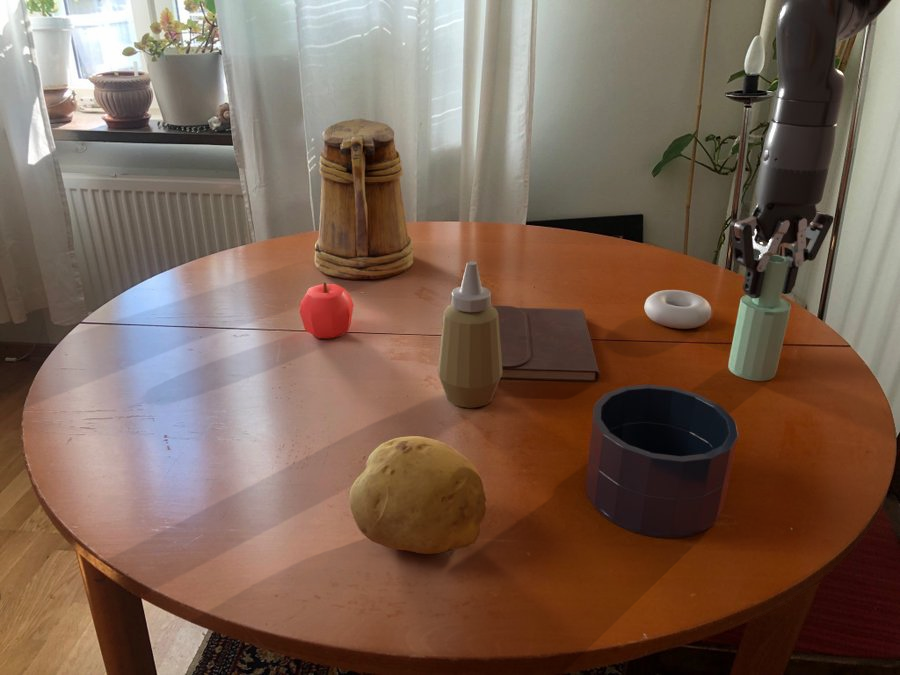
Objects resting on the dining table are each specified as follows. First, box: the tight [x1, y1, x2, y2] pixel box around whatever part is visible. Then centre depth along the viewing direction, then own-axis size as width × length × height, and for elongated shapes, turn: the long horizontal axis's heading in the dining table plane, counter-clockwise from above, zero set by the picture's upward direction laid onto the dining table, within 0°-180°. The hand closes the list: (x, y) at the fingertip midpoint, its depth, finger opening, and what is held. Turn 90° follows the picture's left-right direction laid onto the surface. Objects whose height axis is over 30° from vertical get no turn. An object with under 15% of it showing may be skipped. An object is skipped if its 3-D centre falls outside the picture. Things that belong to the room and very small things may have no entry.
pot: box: [585, 384, 739, 539], centre depth 74 cm, size 14×14×9 cm
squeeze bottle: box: [437, 261, 503, 409], centre depth 90 cm, size 8×8×18 cm
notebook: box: [492, 305, 601, 383], centre depth 106 cm, size 15×20×2 cm
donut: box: [643, 289, 712, 330], centre depth 114 cm, size 10×4×10 cm
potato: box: [348, 435, 487, 555], centre depth 69 cm, size 10×12×10 cm
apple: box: [299, 281, 354, 340], centre depth 109 cm, size 8×8×8 cm
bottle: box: [727, 254, 792, 382], centre depth 97 cm, size 6×6×16 cm
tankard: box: [313, 117, 415, 281], centre depth 129 cm, size 18×24×25 cm
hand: (767, 293), depth 95 cm, fingers open, 4 cm apart
